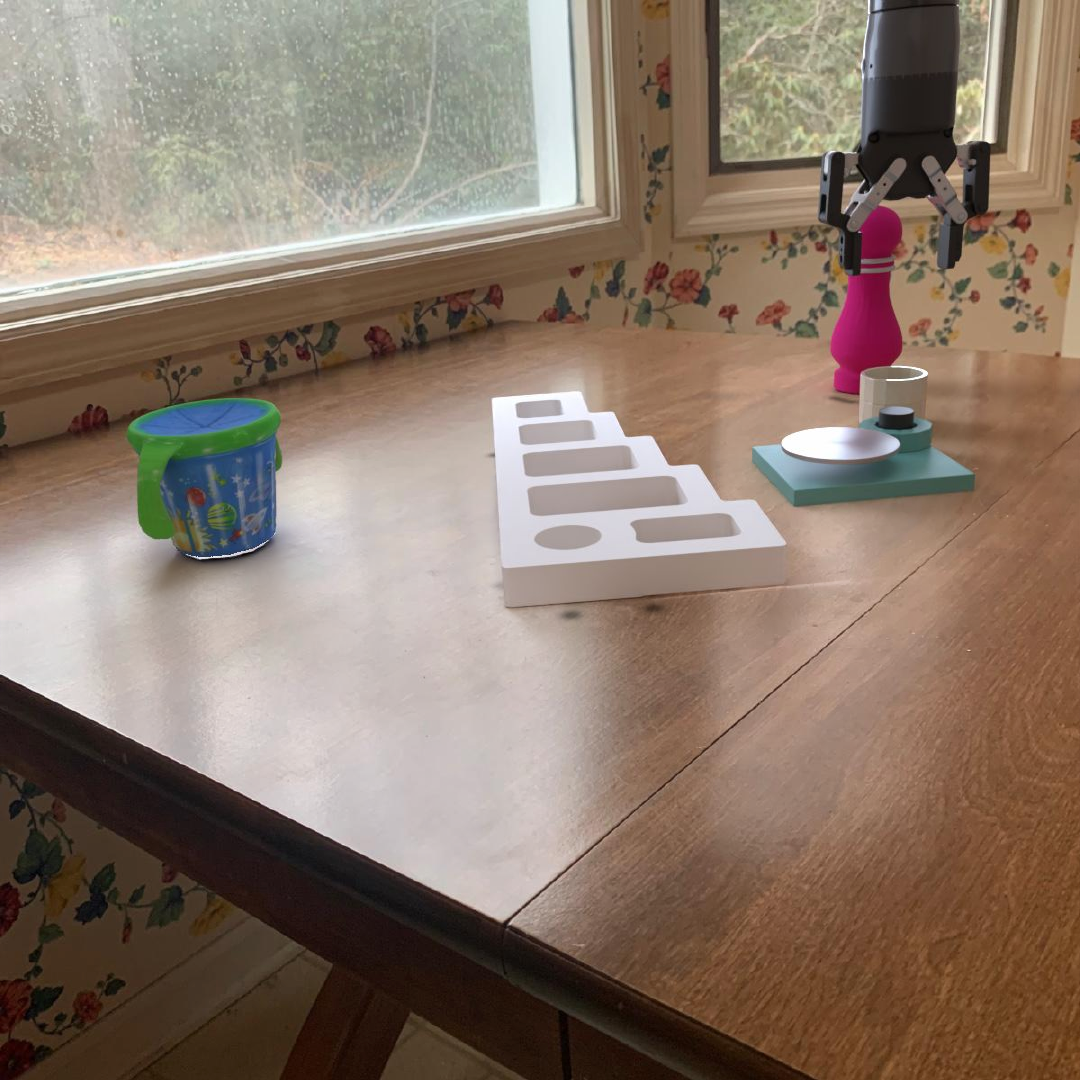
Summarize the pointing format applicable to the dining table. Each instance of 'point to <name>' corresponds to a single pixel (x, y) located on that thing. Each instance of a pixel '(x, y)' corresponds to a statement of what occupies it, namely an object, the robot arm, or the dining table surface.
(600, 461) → the holder
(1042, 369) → the dining table surface
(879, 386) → the beige cup
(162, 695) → the dining table surface
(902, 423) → the tare button
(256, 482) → the snack cup
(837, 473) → the scale
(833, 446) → the weighing plate
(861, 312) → the pepper mill
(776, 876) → the dining table surface
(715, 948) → the dining table surface
